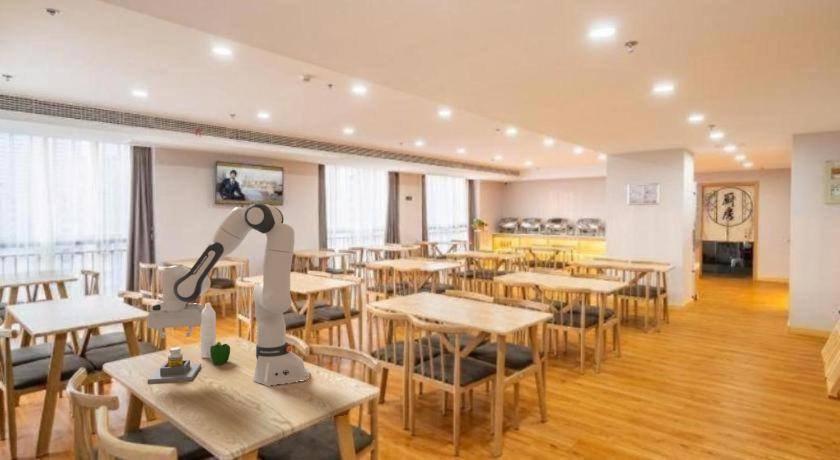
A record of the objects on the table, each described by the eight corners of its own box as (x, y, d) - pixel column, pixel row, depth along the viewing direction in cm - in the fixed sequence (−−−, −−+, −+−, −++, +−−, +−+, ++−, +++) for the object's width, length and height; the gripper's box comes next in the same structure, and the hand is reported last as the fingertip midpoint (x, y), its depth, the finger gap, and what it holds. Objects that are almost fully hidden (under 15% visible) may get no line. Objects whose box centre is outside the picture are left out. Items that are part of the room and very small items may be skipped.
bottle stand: (200, 366, 203) (200, 356, 203) (191, 380, 188) (191, 369, 187) (160, 368, 200) (160, 358, 199) (147, 383, 184) (147, 371, 184)
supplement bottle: (181, 368, 197) (181, 345, 196) (183, 372, 193) (183, 349, 192) (167, 370, 194) (167, 347, 193) (169, 374, 190) (168, 351, 189)
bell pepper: (219, 358, 214) (219, 337, 213) (234, 361, 211) (234, 339, 211) (205, 364, 206) (205, 342, 206) (220, 367, 203) (220, 344, 203)
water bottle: (213, 353, 222) (213, 301, 221) (217, 356, 217) (217, 303, 215) (193, 356, 216) (193, 303, 215) (197, 360, 211) (197, 305, 210)
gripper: (203, 301, 197) (205, 333, 198) (150, 303, 193) (152, 336, 194) (200, 304, 191) (201, 337, 192) (145, 307, 187) (146, 341, 187)
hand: (176, 337), depth 193 cm, fingers open, 8 cm apart
